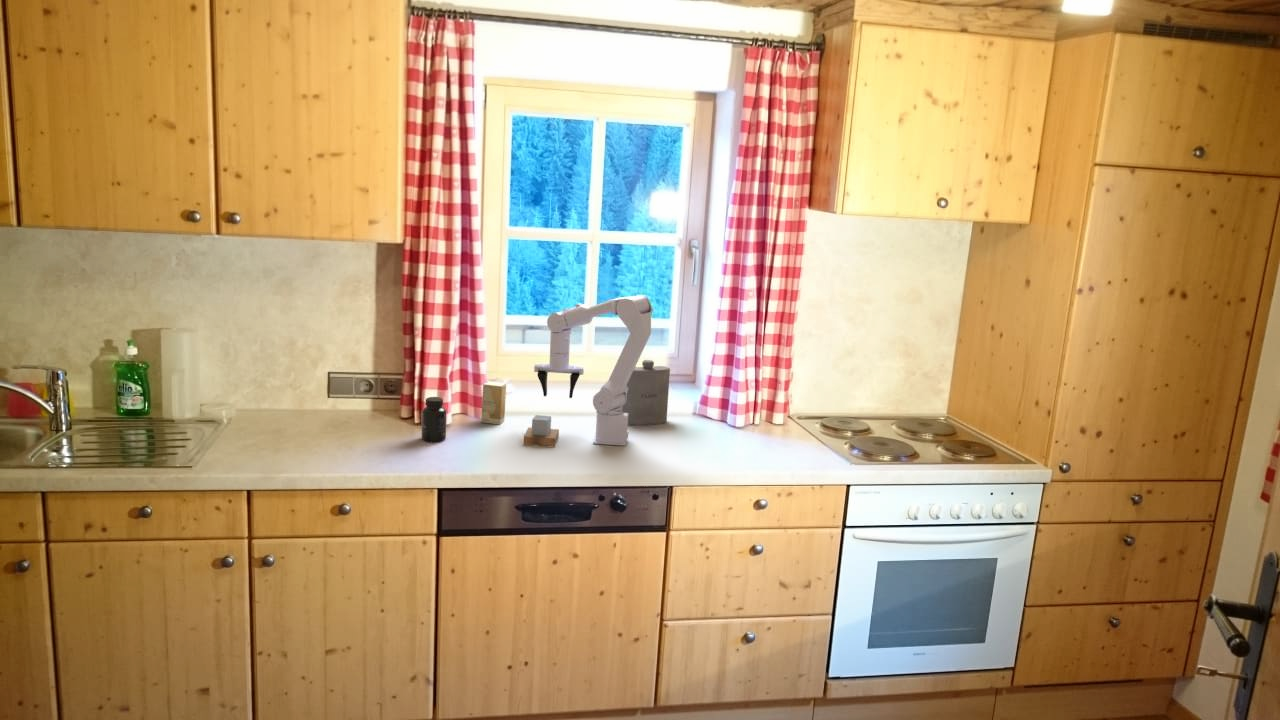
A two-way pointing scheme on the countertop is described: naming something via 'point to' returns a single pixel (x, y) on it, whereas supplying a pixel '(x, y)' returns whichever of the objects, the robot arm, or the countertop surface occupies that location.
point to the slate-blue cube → (541, 425)
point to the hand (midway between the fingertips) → (558, 396)
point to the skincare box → (493, 402)
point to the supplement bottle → (434, 420)
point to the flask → (647, 394)
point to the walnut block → (541, 438)
